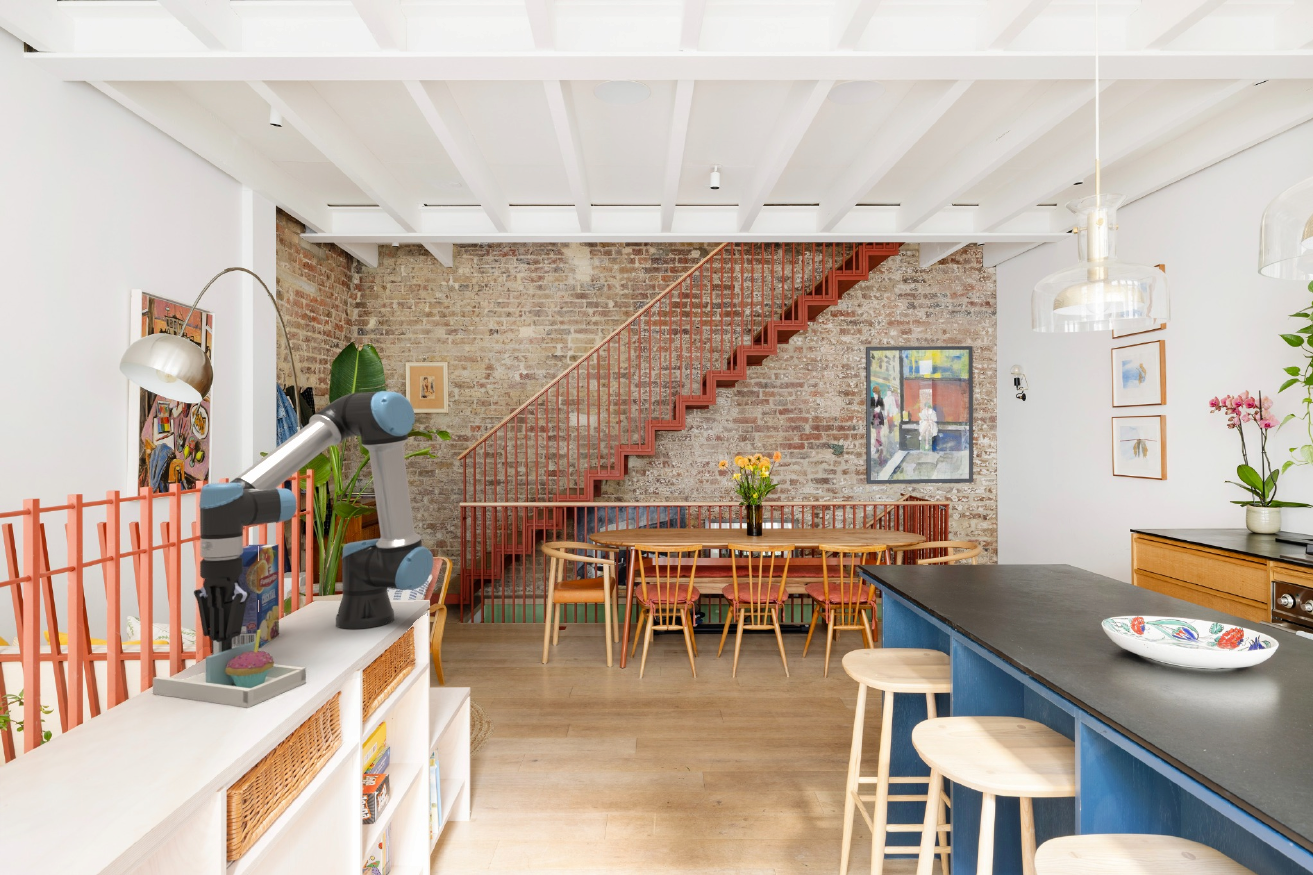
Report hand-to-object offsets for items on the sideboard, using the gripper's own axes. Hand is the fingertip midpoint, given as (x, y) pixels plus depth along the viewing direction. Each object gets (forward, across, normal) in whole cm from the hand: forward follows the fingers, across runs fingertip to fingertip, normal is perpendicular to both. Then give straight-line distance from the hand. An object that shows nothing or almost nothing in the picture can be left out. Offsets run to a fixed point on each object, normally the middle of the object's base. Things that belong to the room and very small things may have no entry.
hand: (222, 670), depth 143 cm
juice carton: (+4, -22, +27) cm, 35 cm away
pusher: (+2, +1, 0) cm, 3 cm away
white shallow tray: (+3, +2, 0) cm, 4 cm away
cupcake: (+3, +8, 0) cm, 8 cm away
